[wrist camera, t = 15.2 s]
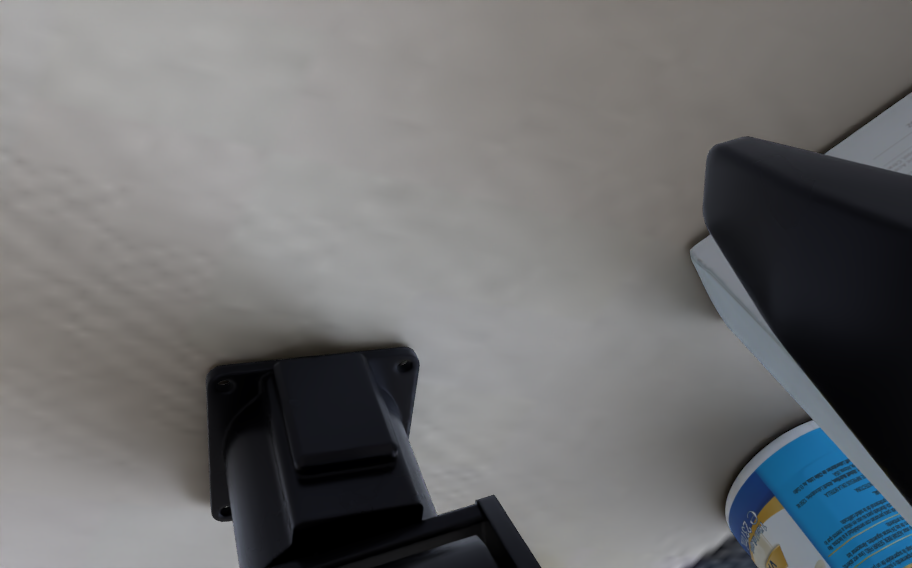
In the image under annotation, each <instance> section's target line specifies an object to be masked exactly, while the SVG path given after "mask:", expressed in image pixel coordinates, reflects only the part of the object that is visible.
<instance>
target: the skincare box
mask: <svg viewBox="0 0 912 568" xmlns="http://www.w3.org/2000/svg"><path fill="white" fill-rule="evenodd" d="M824 155H829V156H833V157H837V158H841V159H845V160H849V161H854V162H858V163H862V164H866V165H870V166H874V167H878V168H883V169H887V170H891V171H895V172H899V173H903V174H908V175H912V92H911V93H910V94H908V95H907V96H906V97H904V98H903V99H901V100H900V101H899V102H897V103H896V104H894V105H893V106H891V107H890V108H889V109H887V110H886V111H884V112H883V113H882V114H880V115H879V116H877V117H876V118H875V119H873V120H872V121H870V122H869V123H867V124H866V125H865V126H863V127H862V128H860V129H859V130H858V131H856V132H855V133H853V134H852V135H851V136H849V137H848V138H846V139H845V140H843V141H842V142H841V143H839V144H838V145H836V146H835V147H834V148H832V149H831V150H829V151H828V152H827V153H825V154H824ZM690 257H691V260H692V262H693V264H694V266H695V268H696V270H697V272H698V274H699V276H700V279H701V281H702V283H703V285H704V287H705V289H706V291H707V293H708V295H709V297H710V299H711V301H712V303H713V304H714V306H715V308H716V310H717V311H718V313H719V315H720V316H721V318H722V319H723V321H724V322H725V324H726V325H727V327H728V328H729V329H730V330H731V331H732V332H733V333H734V334H735V335H736V336H737V337H738V339H739V340H740V341H741V342H742V343H743V344H744V345H745V346H746V347H747V348H748V349H749V351H750V352H751V353H752V354H753V355H754V356H755V357H756V358H757V359H758V360H759V361H760V362H761V364H762V365H763V366H764V367H765V368H766V369H767V370H768V371H769V372H770V373H771V374H772V376H773V377H774V378H775V379H776V380H777V381H778V382H779V383H780V384H781V385H782V386H783V388H784V389H785V390H786V391H787V392H788V393H789V394H790V395H791V396H792V397H793V398H794V399H795V401H796V402H797V403H798V404H799V405H800V406H801V407H802V408H803V409H804V410H805V411H806V413H807V414H808V415H809V416H810V417H811V418H812V419H813V420H814V421H815V422H816V424H817V425H818V426H819V427H820V428H821V429H822V430H823V431H824V432H825V433H826V434H827V436H828V437H829V438H830V439H831V440H832V441H833V442H834V443H835V444H836V445H837V446H838V448H839V449H840V450H841V451H842V452H843V453H844V454H845V455H846V456H847V457H848V459H849V460H850V461H851V462H852V463H853V464H854V465H855V466H856V467H857V468H858V469H859V471H860V472H861V473H862V474H863V475H864V476H865V477H866V478H867V479H868V480H869V481H870V482H871V484H872V485H873V486H874V487H875V488H876V489H877V490H878V491H879V492H880V493H881V494H882V495H883V496H884V498H885V499H886V500H887V501H888V502H889V503H890V504H891V505H892V506H893V507H894V508H895V509H896V511H897V512H898V513H899V514H900V515H901V516H902V517H903V518H904V519H905V520H906V521H907V523H908V524H909V525H910V526H911V527H912V507H911V506H910V505H909V503H908V502H907V501H906V500H905V498H904V497H903V496H902V495H901V493H900V492H899V491H898V490H897V488H896V487H895V486H894V485H893V483H892V482H891V481H890V480H889V478H888V477H887V476H886V475H885V473H884V472H883V471H882V470H881V468H880V467H879V466H878V465H877V463H876V462H875V461H874V460H873V458H872V457H871V456H870V455H869V453H868V452H867V451H866V450H865V448H864V447H863V446H862V445H861V443H860V442H859V441H858V440H857V438H856V437H855V436H854V435H853V433H852V432H851V431H850V430H849V428H848V427H847V426H846V424H845V423H844V422H843V421H842V419H841V418H840V417H839V416H838V414H837V413H836V412H835V411H834V409H833V408H832V407H831V406H830V404H829V403H828V402H827V401H826V399H825V398H824V397H823V396H822V394H821V393H820V392H819V391H818V389H817V388H816V387H815V386H814V384H813V383H812V382H811V381H810V379H809V378H808V377H807V376H806V374H805V373H804V372H803V371H802V369H801V368H800V367H799V366H798V364H797V363H796V362H795V361H794V359H793V358H792V357H791V356H790V354H789V353H788V352H787V351H786V349H785V348H784V347H783V345H782V344H781V343H780V341H779V340H778V339H777V337H776V336H775V335H774V334H773V332H772V331H771V329H770V328H769V326H768V325H767V323H766V322H765V320H764V319H763V317H762V316H761V314H760V313H759V311H758V309H757V308H756V306H755V305H754V303H753V301H752V300H751V298H750V297H749V295H748V293H747V292H746V290H745V289H744V287H743V285H742V284H741V282H740V281H739V279H738V277H737V276H736V274H735V273H734V271H733V269H732V268H731V266H730V265H729V263H728V261H727V260H726V258H725V257H724V255H723V253H722V252H721V250H720V249H719V247H718V246H717V244H716V242H715V241H714V239H713V238H712V236H711V234H710V235H709V236H707V237H706V238H705V239H703V240H702V241H700V242H699V243H698V244H696V245H695V246H694V247H693V248H692V249H691V250H690Z"/></svg>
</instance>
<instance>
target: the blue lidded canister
mask: <svg viewBox="0 0 912 568" xmlns="http://www.w3.org/2000/svg"><path fill="white" fill-rule="evenodd" d="M725 515H726V521H727V524H728V526H729V528H730V530H731V532H732V533H733V535H734V536H735V538H736V539H737V540H738V542H739V543H740V545H741V546H742V547H743V548H744V550H745V551H746V552H747V553H748V554H749V556H750V557H751V559H752V560H753V561H754V563H755V564H756V565H757V567H758V568H912V527H911V526H910V525H909V524H908V523H907V521H906V520H905V519H904V518H903V517H902V516H901V515H900V514H899V513H898V512H897V511H896V509H895V508H894V507H893V506H892V505H891V504H890V503H889V502H888V501H887V500H886V499H885V498H884V496H883V495H882V494H881V493H880V492H879V491H878V490H877V489H876V488H875V487H874V486H873V485H872V484H871V482H870V481H869V480H868V479H867V478H866V477H865V476H864V475H863V474H862V473H861V472H860V471H859V469H858V468H857V467H856V466H855V465H854V464H853V463H852V462H851V461H850V460H849V459H848V457H847V456H846V455H845V454H844V453H843V452H842V451H841V450H840V449H839V448H838V446H837V445H836V444H835V443H834V442H833V441H832V440H831V439H830V438H829V437H828V436H827V434H826V433H825V432H824V431H823V430H822V429H821V428H820V427H819V426H818V425H817V424H816V422H815V421H814V420H812V421H809V422H807V423H804V424H802V425H800V426H797V427H795V428H793V429H792V430H790V431H788V432H786V433H784V434H783V435H781V436H780V437H778V438H777V439H775V440H774V441H772V442H771V443H770V444H768V445H767V446H766V447H765V448H763V449H762V450H761V451H760V452H759V453H758V454H757V455H756V456H754V457H753V458H752V459H751V461H750V462H749V463H748V464H747V465H746V466H745V467H744V468H743V470H742V471H741V472H740V474H739V475H738V477H737V478H736V480H735V481H734V483H733V485H732V487H731V489H730V491H729V494H728V497H727V501H726V507H725Z"/></svg>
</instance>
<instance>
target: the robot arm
mask: <svg viewBox="0 0 912 568" xmlns="http://www.w3.org/2000/svg"><path fill="white" fill-rule="evenodd" d="M703 217H704V221H705V224H706V227H707V229H708V231H709V233H710V234H711V236H712V238H713V239H714V241H715V242H716V244H717V246H718V247H719V249H720V250H721V252H722V253H723V255H724V257H725V258H726V260H727V261H728V263H729V265H730V266H731V268H732V269H733V271H734V273H735V274H736V276H737V277H738V279H739V281H740V282H741V284H742V285H743V287H744V289H745V290H746V292H747V293H748V295H749V297H750V298H751V300H752V301H753V303H754V305H755V306H756V308H757V309H758V311H759V313H760V314H761V316H762V317H763V319H764V320H765V322H766V323H767V325H768V326H769V328H770V329H771V331H772V332H773V334H774V335H775V336H776V337H777V339H778V340H779V341H780V343H781V344H782V345H783V347H784V348H785V349H786V351H787V352H788V353H789V354H790V356H791V357H792V358H793V359H794V361H795V362H796V363H797V364H798V366H799V367H800V368H801V369H802V371H803V372H804V373H805V374H806V376H807V377H808V378H809V379H810V381H811V382H812V383H813V384H814V386H815V387H816V388H817V389H818V391H819V392H820V393H821V394H822V396H823V397H824V398H825V399H826V401H827V402H828V403H829V404H830V406H831V407H832V408H833V409H834V411H835V412H836V413H837V414H838V416H839V417H840V418H841V419H842V421H843V422H844V423H845V424H846V426H847V427H848V428H849V430H850V431H851V432H852V433H853V435H854V436H855V437H856V438H857V440H858V441H859V442H860V443H861V445H862V446H863V447H864V448H865V450H866V451H867V452H868V453H869V455H870V456H871V457H872V458H873V460H874V461H875V462H876V463H877V465H878V466H879V467H880V468H881V470H882V471H883V472H884V473H885V475H886V476H887V477H888V478H889V480H890V481H891V482H892V483H893V485H894V486H895V487H896V488H897V490H898V491H899V492H900V493H901V495H902V496H903V497H904V498H905V500H906V501H907V502H908V503H909V505H910V506H911V507H912V175H908V174H903V173H899V172H895V171H891V170H887V169H883V168H878V167H874V166H870V165H866V164H862V163H858V162H854V161H849V160H845V159H841V158H837V157H833V156H829V155H824V154H820V153H816V152H812V151H808V150H804V149H800V148H795V147H791V146H787V145H783V144H779V143H775V142H770V141H766V140H762V139H758V138H754V137H749V136H747V137H740V138H737V139H733V140H730V141H727V142H723V143H720V144H717V145H715V146H713V147H712V148H711V149H710V151H709V153H708V155H707V160H706V171H705V184H704V197H703ZM404 361H407V362H406V363H405V364H403V365H398V364H400V363H401V362H404ZM419 366H420V365H419V360H418V358H417V355H416V353H415V352H414V350H413V349H411V348H409V347H398V348H388V349H378V350H368V351H358V352H348V353H339V354H329V355H319V356H309V357H299V358H289V359H280V360H270V361H260V362H250V363H240V364H230V365H222V366H218V367H215V368H214V369H212V370H210V372H209V373H208V374H207V377H206V398H207V424H208V451H209V477H210V504H211V512H212V516H213V518H214V519H216V520H217V521H221V522H225V521H233V526H234V533H235V540H236V547H237V554H238V560H239V567H240V568H541V567H540V565H539V563H538V562H537V560H536V559H535V557H534V556H533V554H532V553H531V551H530V549H529V548H528V546H527V545H526V543H525V542H524V540H523V539H522V537H521V535H520V534H519V532H518V531H517V529H516V528H515V526H514V525H513V523H512V521H511V520H510V518H509V517H508V515H507V514H506V512H505V511H504V509H503V507H502V506H501V504H500V503H499V501H498V500H497V498H496V497H495V495H491V496H488V497H485V498H481V499H478V500H476V501H475V504H473V505H470V506H467V507H463V508H460V509H457V510H454V511H450V512H447V513H444V514H440V515H437V513H436V511H435V508H434V505H433V503H432V500H431V497H430V495H429V492H428V490H427V487H426V484H425V482H424V479H423V476H422V474H421V471H420V469H419V466H418V463H417V461H416V458H415V455H414V453H413V450H412V448H411V445H410V442H409V433H410V426H411V420H412V413H413V406H414V399H415V393H416V386H417V379H418V373H419ZM224 380H226V381H230V382H229V383H227V384H224V385H222V384H218V383H219V382H221V381H224ZM226 506H229V507H226Z"/></svg>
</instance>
